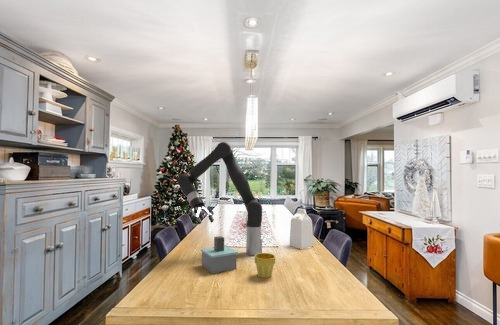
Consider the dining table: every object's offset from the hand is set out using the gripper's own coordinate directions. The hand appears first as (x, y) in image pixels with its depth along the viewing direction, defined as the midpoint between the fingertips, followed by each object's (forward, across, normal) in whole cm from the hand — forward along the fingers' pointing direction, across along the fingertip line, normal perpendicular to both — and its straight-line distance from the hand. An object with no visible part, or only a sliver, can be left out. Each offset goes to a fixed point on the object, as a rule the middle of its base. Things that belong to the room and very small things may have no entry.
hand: (206, 222), depth 157 cm
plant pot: (+42, +9, -10) cm, 44 cm away
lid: (+18, 0, +2) cm, 18 cm away
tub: (+24, 0, +8) cm, 25 cm away
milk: (+28, +70, +4) cm, 75 cm away
